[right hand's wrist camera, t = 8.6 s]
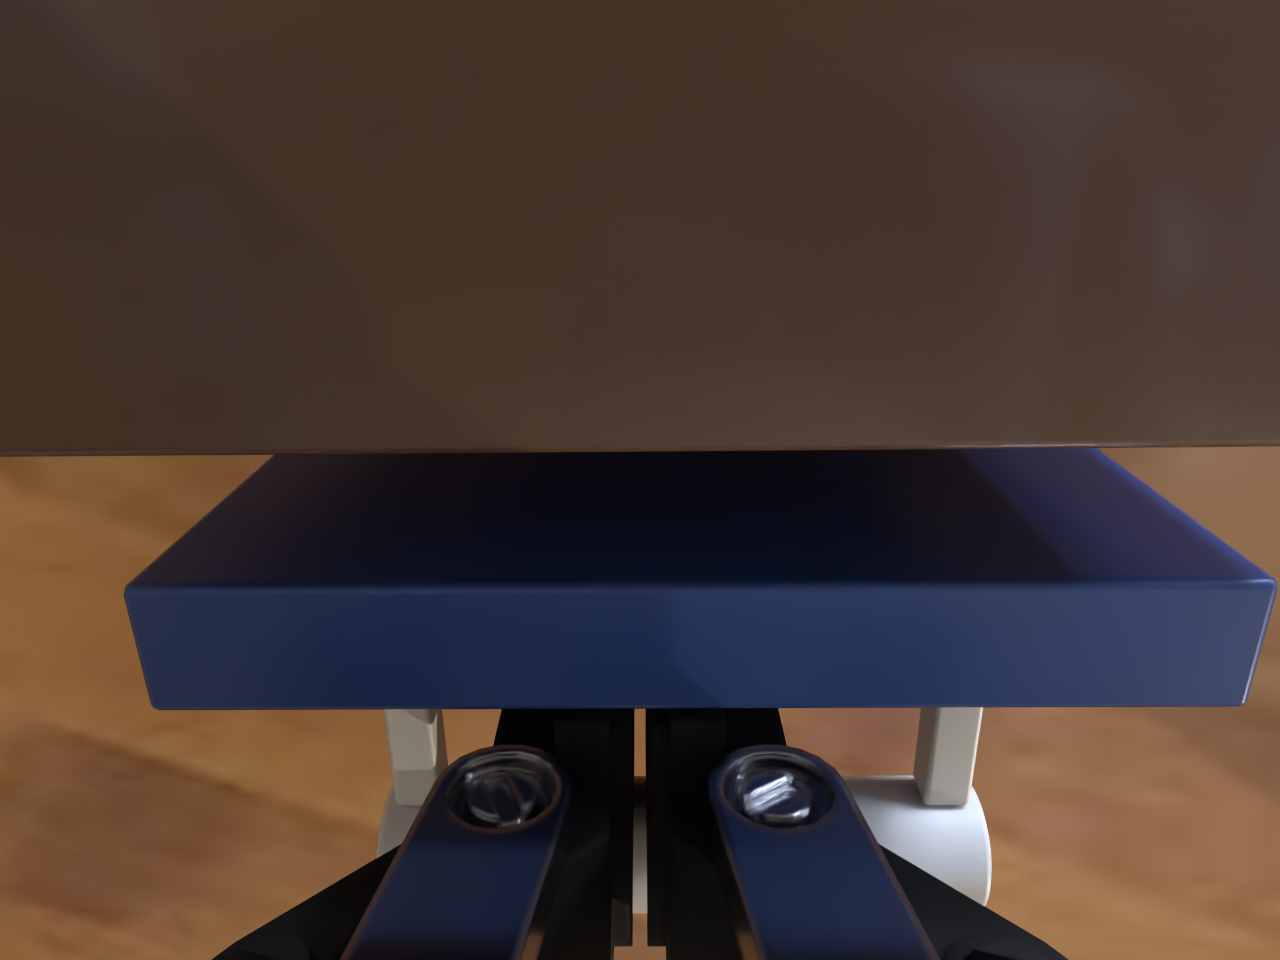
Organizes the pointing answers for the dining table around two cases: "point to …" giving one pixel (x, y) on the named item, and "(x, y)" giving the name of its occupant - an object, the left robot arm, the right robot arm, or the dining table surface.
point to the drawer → (704, 602)
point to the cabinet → (637, 225)
